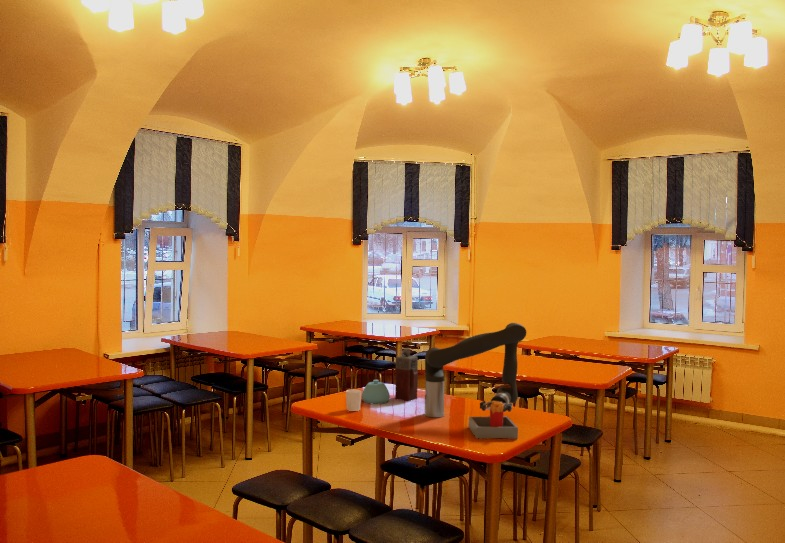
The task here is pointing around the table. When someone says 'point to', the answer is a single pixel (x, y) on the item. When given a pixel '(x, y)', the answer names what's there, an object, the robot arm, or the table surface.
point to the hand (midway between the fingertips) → (492, 409)
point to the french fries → (496, 414)
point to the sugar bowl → (375, 393)
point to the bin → (492, 428)
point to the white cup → (353, 399)
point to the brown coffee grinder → (406, 376)
